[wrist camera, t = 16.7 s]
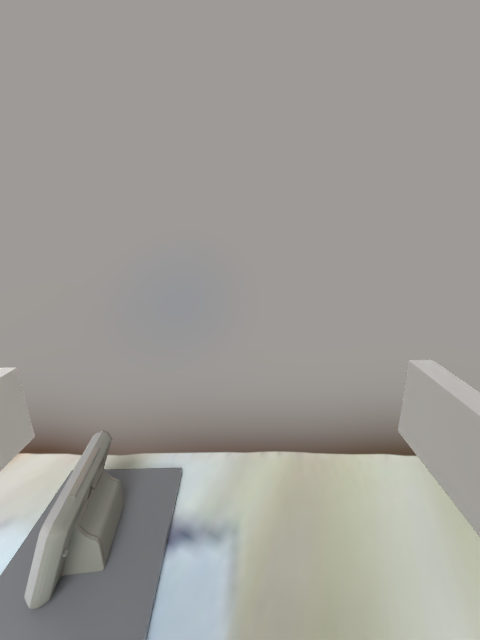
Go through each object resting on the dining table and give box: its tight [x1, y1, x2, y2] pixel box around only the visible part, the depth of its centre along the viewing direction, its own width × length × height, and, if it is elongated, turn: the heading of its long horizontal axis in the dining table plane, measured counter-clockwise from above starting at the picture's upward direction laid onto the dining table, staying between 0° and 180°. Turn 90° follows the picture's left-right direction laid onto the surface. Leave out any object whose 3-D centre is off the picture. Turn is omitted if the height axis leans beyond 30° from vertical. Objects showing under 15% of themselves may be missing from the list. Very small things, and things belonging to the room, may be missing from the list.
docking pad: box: [0, 468, 182, 640], centre depth 38 cm, size 18×24×1 cm
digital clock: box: [24, 431, 124, 609], centre depth 37 cm, size 16×9×11 cm, turn 174°
